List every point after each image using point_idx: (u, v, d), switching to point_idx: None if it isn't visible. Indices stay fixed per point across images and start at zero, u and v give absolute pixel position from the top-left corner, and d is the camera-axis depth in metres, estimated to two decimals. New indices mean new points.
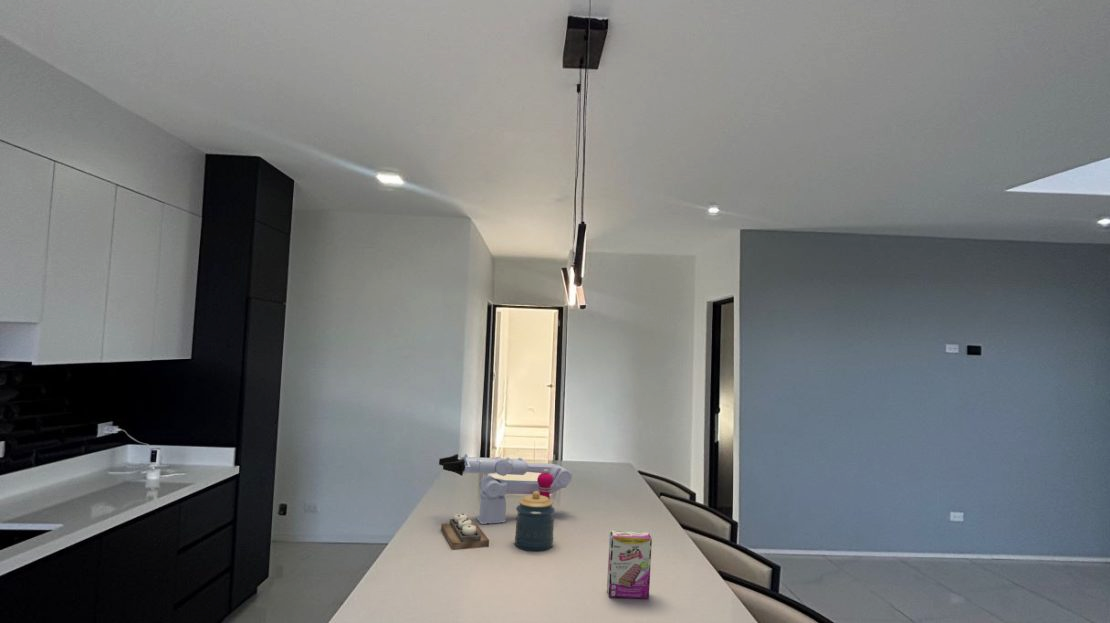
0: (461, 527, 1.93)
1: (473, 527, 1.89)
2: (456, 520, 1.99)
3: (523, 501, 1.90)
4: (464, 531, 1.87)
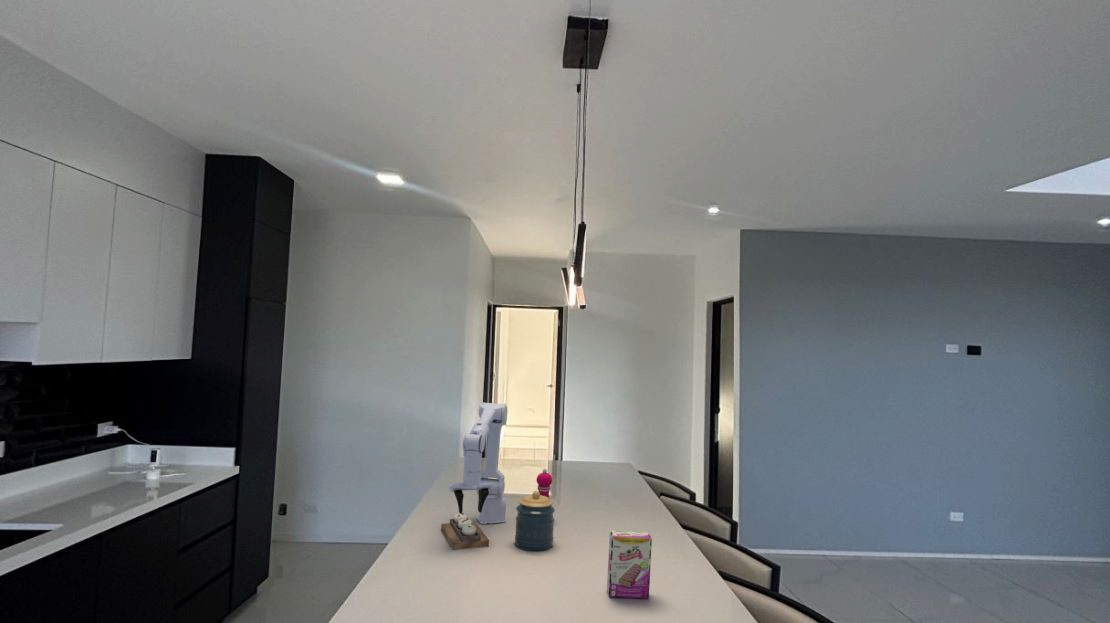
0: (461, 527, 1.93)
1: (473, 527, 1.89)
2: (456, 520, 1.99)
3: (523, 501, 1.90)
4: (464, 531, 1.87)
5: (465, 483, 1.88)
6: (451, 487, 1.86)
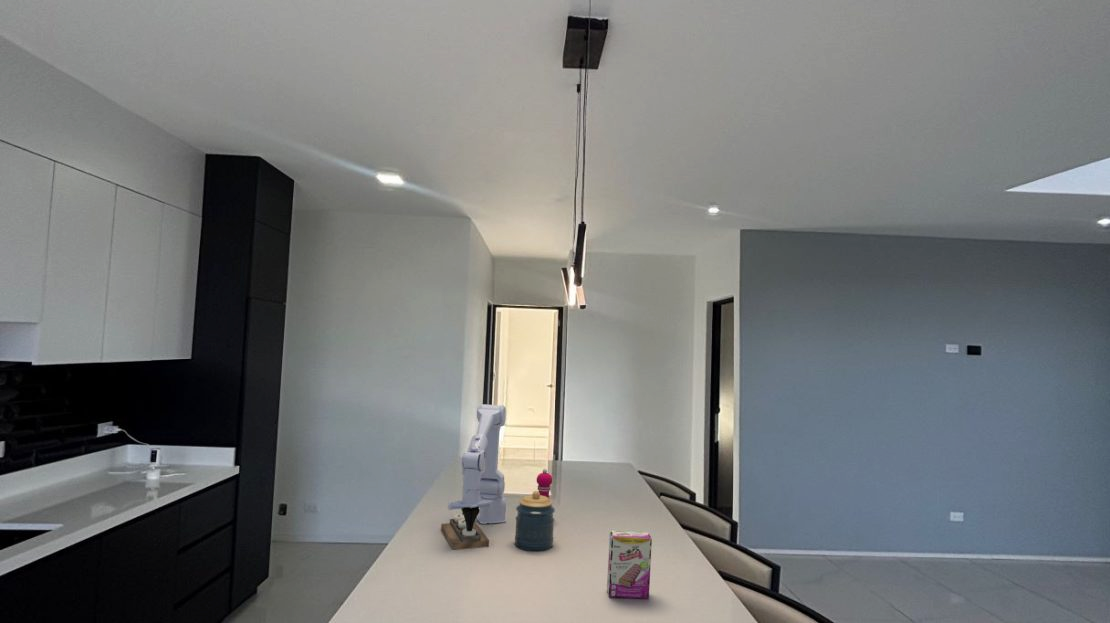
0: (461, 527, 1.93)
1: (473, 531, 1.89)
2: (456, 520, 1.99)
3: (523, 501, 1.90)
4: (464, 535, 1.87)
5: (464, 501, 1.87)
6: (450, 505, 1.86)
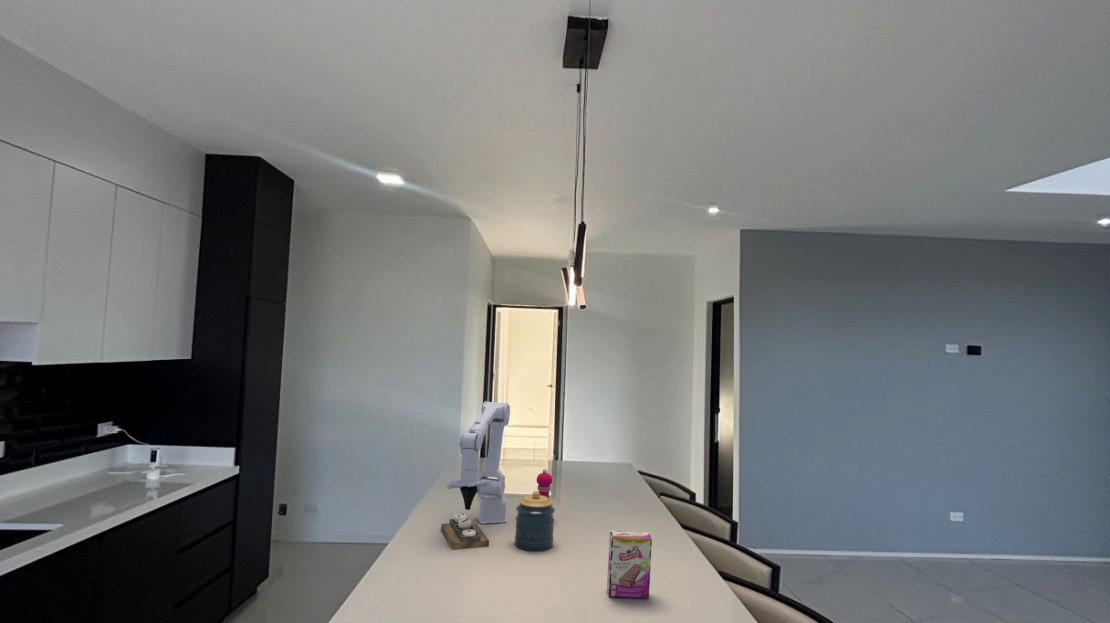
0: (461, 527, 1.93)
1: (473, 532, 1.89)
2: (456, 520, 1.99)
3: (523, 501, 1.90)
4: (464, 535, 1.87)
5: (462, 480, 1.92)
6: (449, 484, 1.90)
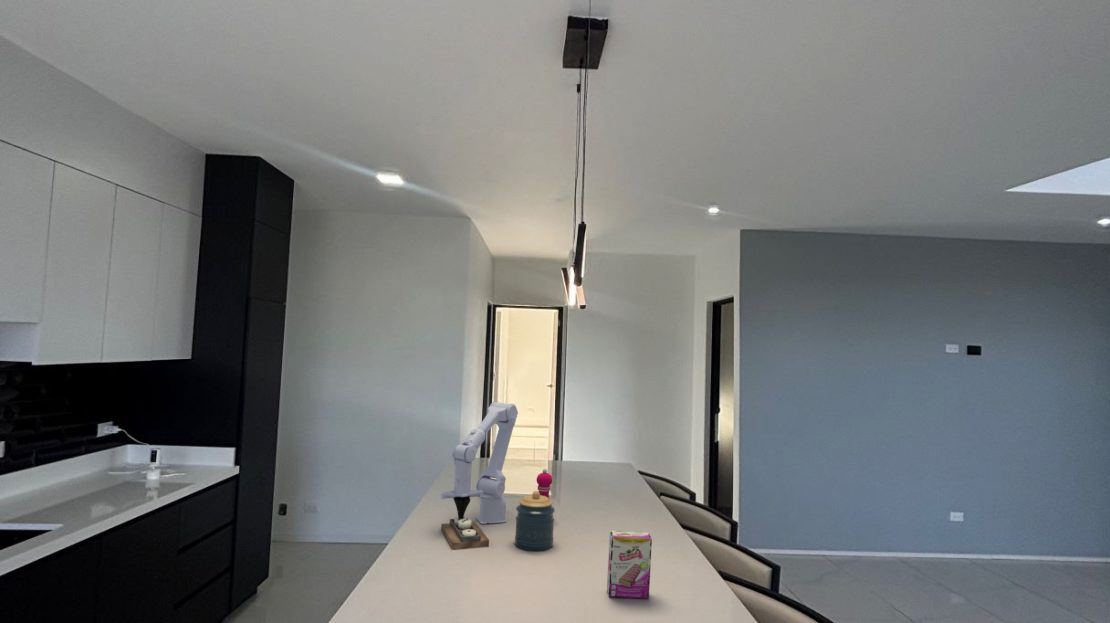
0: (461, 527, 1.93)
1: (473, 532, 1.89)
2: None
3: (523, 501, 1.90)
4: (464, 535, 1.87)
5: (456, 491, 1.99)
6: (442, 495, 1.98)
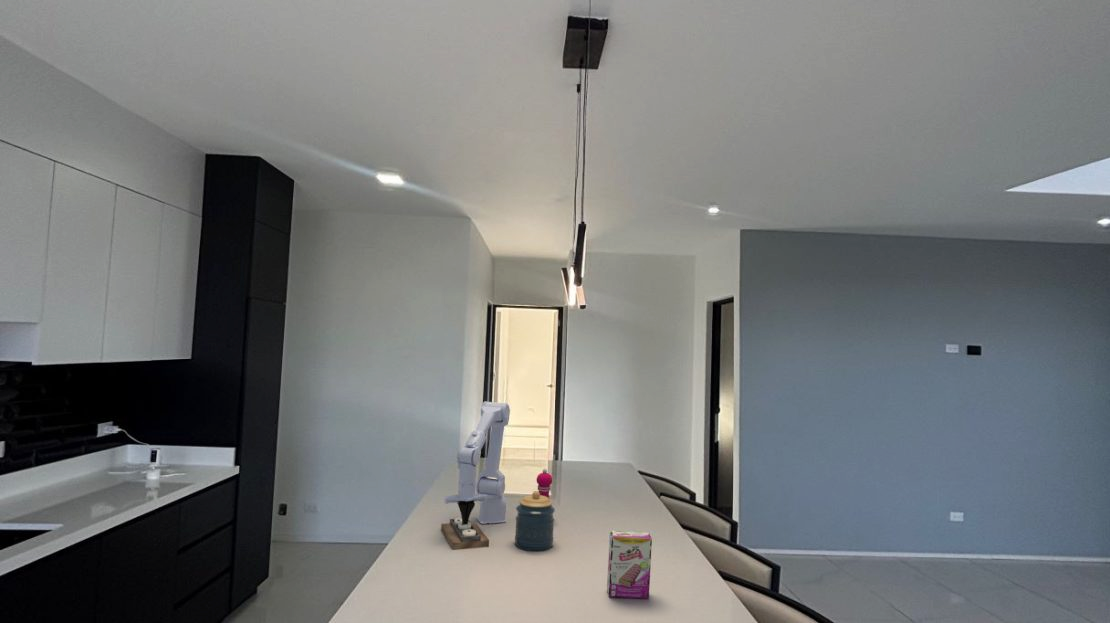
0: None
1: (473, 532, 1.89)
2: None
3: (523, 501, 1.90)
4: (464, 535, 1.87)
5: (460, 495, 1.93)
6: (446, 499, 1.92)
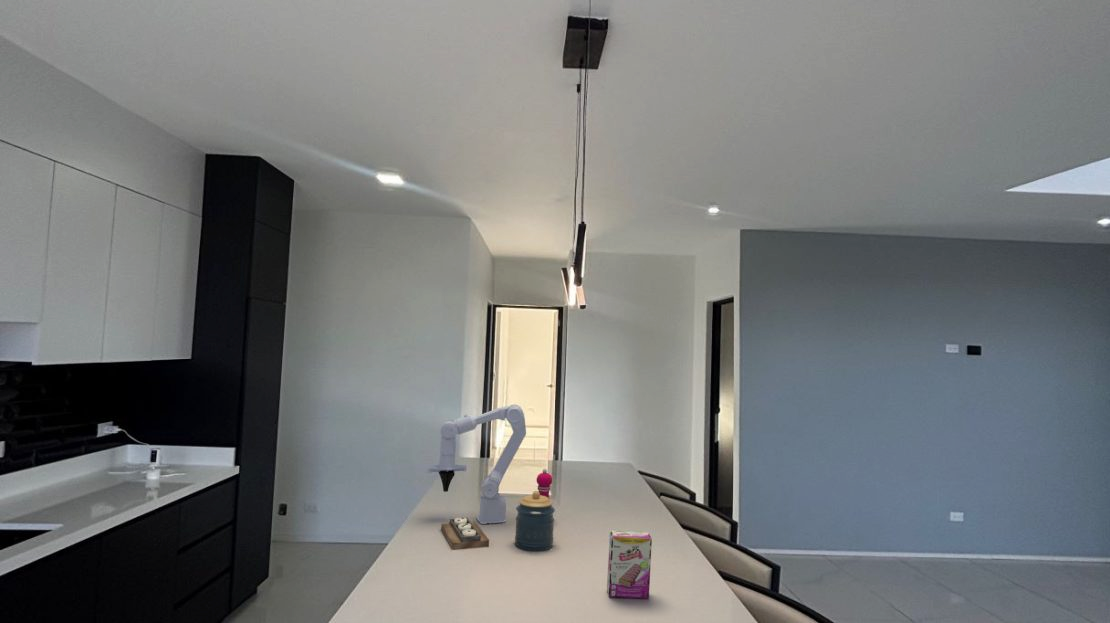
0: None
1: (473, 532, 1.89)
2: None
3: (523, 501, 1.90)
4: (464, 535, 1.87)
5: (441, 465, 2.12)
6: (428, 468, 2.11)
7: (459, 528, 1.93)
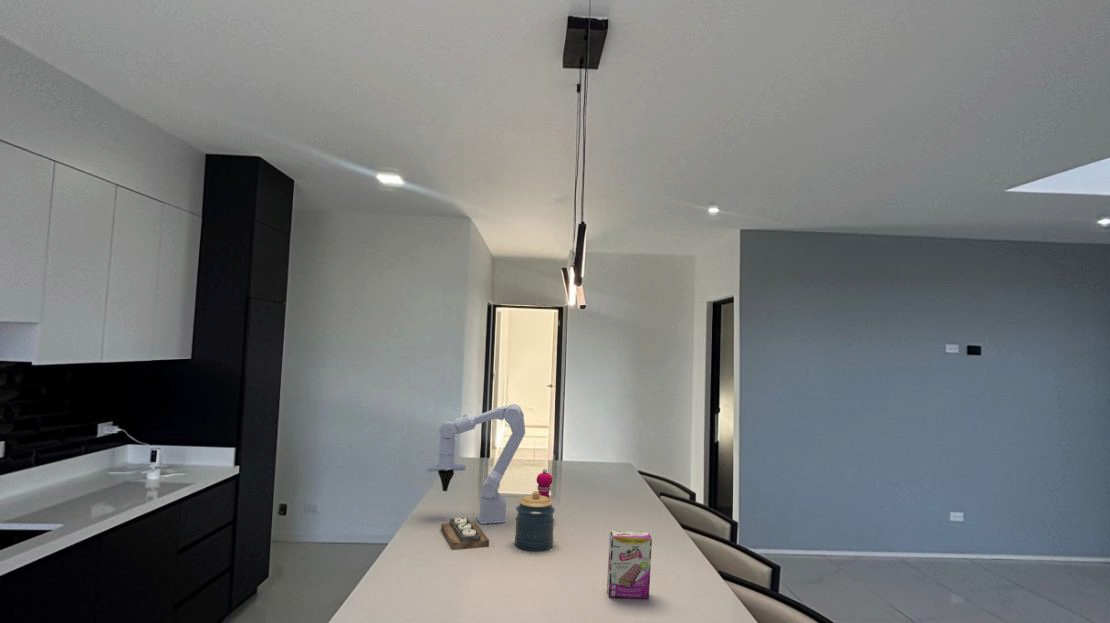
0: None
1: (473, 532, 1.89)
2: None
3: (523, 501, 1.90)
4: (464, 535, 1.87)
5: (440, 465, 2.13)
6: (428, 468, 2.12)
7: (459, 528, 1.93)
